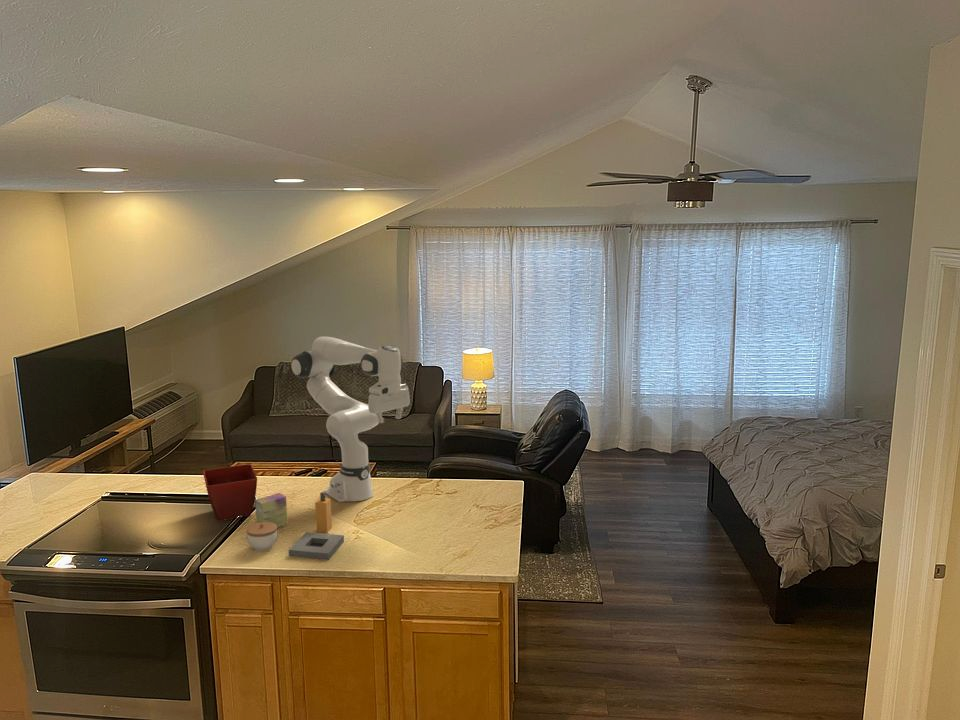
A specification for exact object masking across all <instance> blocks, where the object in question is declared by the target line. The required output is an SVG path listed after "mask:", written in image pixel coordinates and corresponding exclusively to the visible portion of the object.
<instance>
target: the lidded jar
mask: <svg viewBox="0 0 960 720" xmlns="http://www.w3.org/2000/svg"><path fill="white" fill-rule="evenodd" d="M246 537H247V542H248V545H250V547H252V549H254V550H255V551H257V552H266V551H268V550H270V549H272V547H273V546H274V545H275V543H276V541H277V538H278V528H277V525H276V524H275V523H272V522H259V523H257V522H255V523H253V524H250V525H249V526H248V527H247V528H246Z"/></svg>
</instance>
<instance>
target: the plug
mask: <svg viewBox="0 0 960 720" xmlns="http://www.w3.org/2000/svg"><path fill="white" fill-rule="evenodd" d="M319 493H320V495H319V498H318V499H317V500H316V501H315V503H314V505H315V527H316V528H315V529H316V533H324V534H329V532H330V530H332V528H333V526H332V524H333V523H332V501H331V498H326V493H325V492H324V491H322V492H319Z"/></svg>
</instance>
